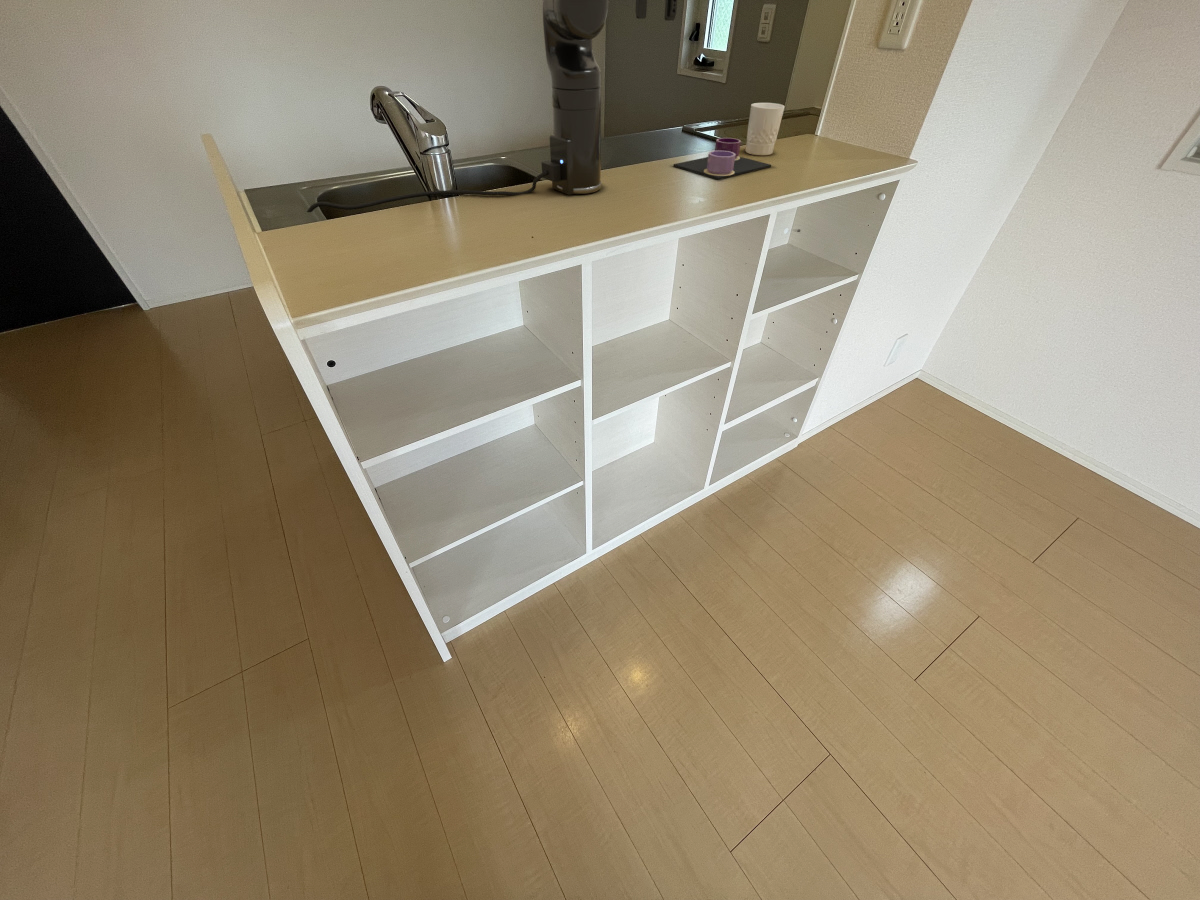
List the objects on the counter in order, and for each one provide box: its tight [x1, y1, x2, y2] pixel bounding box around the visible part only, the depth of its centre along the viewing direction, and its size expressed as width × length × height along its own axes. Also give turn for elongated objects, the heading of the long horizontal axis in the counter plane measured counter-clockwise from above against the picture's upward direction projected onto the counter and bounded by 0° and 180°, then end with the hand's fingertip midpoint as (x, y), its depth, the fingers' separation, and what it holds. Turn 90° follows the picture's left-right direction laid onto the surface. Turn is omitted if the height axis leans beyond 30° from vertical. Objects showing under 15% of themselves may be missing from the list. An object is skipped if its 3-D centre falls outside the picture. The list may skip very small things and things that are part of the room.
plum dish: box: [714, 137, 742, 159], centre depth 121 cm, size 6×6×4 cm
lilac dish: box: [707, 150, 736, 174], centre depth 111 cm, size 6×6×4 cm
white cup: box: [745, 102, 786, 156], centre depth 125 cm, size 8×8×10 cm
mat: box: [673, 155, 772, 181], centre depth 118 cm, size 18×15×1 cm
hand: (654, 19), depth 101 cm, fingers open, 8 cm apart
